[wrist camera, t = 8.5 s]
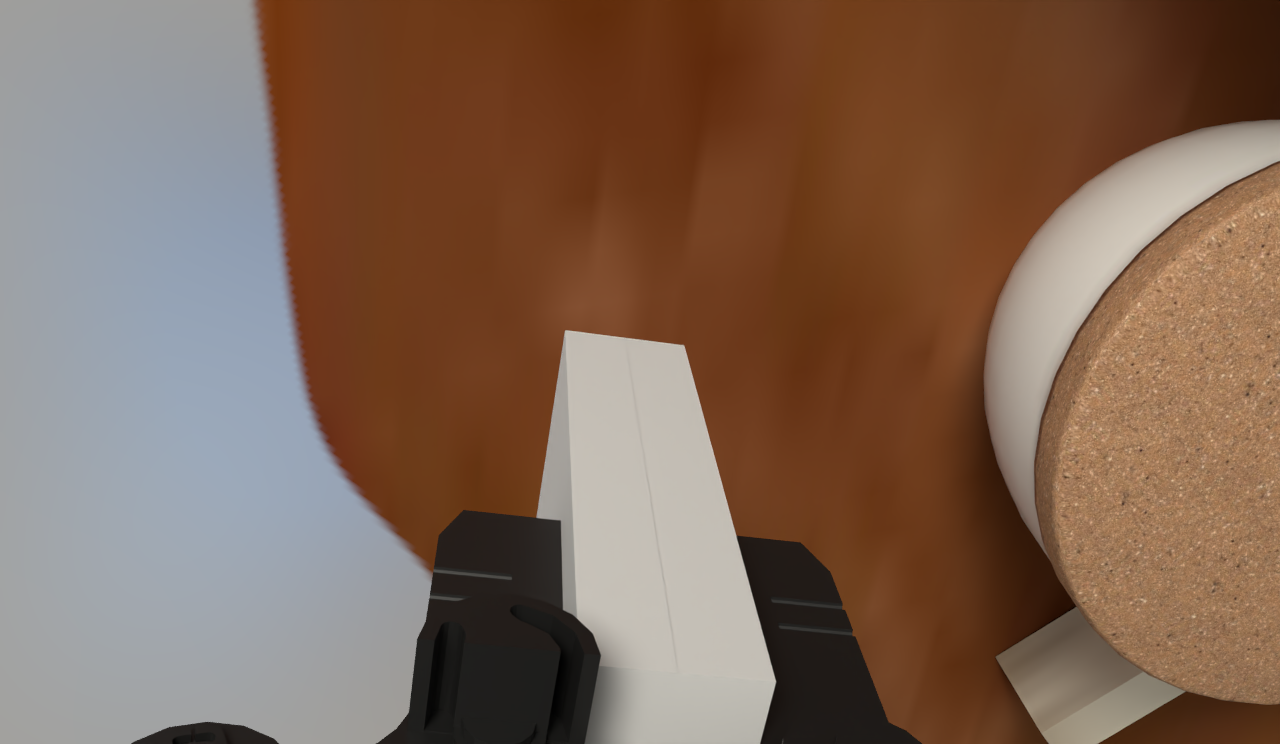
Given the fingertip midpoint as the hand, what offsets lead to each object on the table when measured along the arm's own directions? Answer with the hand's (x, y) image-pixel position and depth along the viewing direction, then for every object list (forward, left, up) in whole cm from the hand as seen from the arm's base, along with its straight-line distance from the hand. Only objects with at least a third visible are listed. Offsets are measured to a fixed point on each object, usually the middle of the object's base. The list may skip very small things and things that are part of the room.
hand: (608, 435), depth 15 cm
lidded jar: (+1, +13, -12) cm, 18 cm away
